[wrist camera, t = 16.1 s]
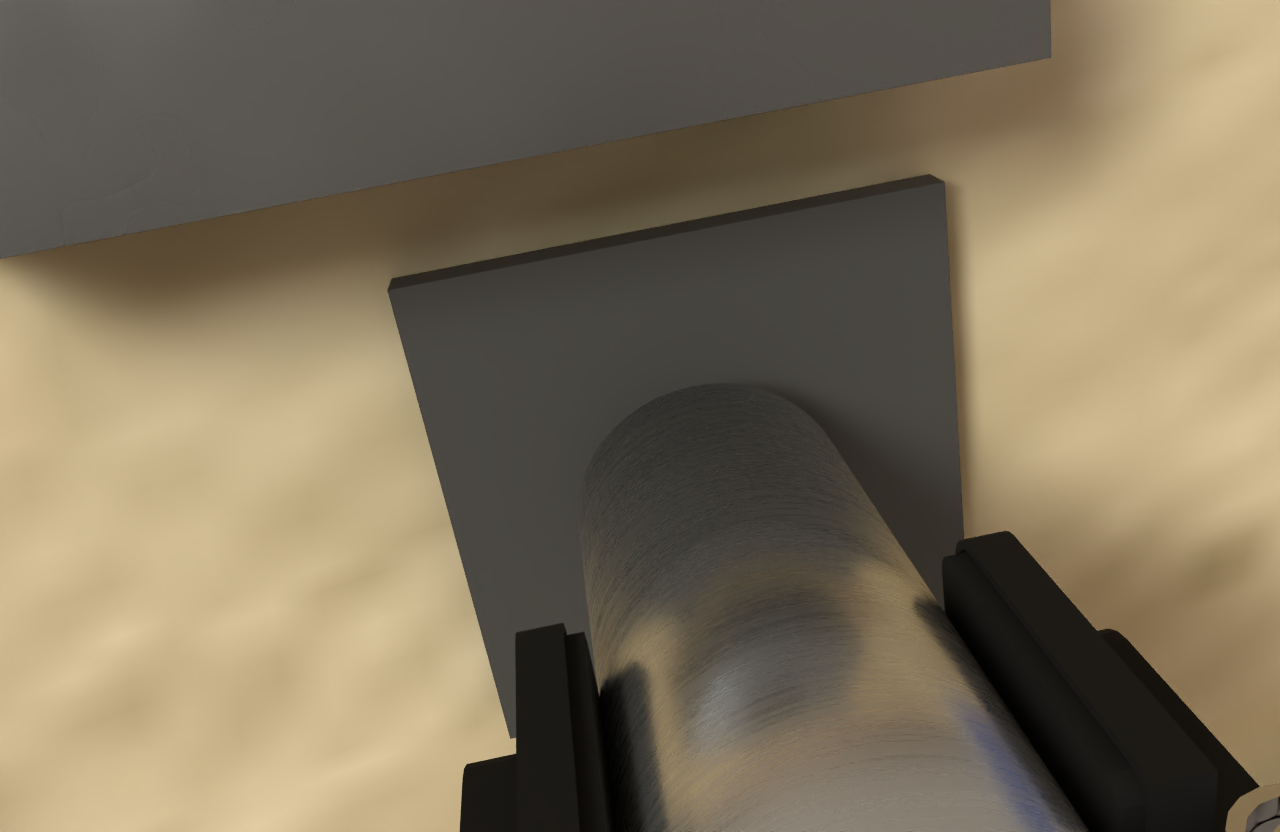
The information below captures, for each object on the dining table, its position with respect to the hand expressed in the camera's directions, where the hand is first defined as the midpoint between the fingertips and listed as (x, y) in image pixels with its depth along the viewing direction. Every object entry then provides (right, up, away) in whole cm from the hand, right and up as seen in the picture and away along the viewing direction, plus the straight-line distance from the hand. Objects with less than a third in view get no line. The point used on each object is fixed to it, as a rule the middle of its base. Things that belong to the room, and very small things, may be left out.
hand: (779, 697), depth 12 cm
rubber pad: (-1, +2, +5) cm, 6 cm away
